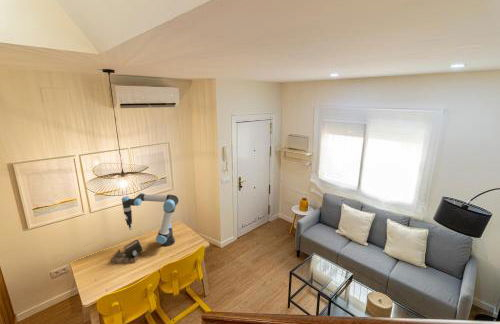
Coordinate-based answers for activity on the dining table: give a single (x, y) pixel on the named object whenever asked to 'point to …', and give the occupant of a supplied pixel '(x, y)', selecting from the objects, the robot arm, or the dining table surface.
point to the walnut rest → (123, 258)
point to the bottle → (132, 249)
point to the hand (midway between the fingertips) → (130, 229)
